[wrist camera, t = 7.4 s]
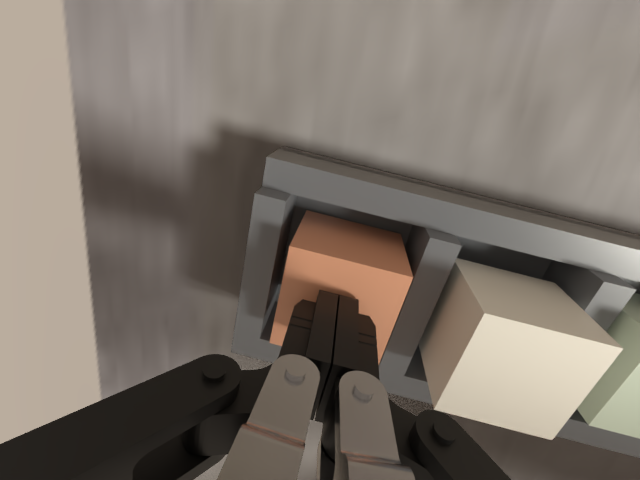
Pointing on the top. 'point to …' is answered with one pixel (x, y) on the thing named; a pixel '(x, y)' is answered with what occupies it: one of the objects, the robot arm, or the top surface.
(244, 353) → the tray
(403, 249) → the terracotta key
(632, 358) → the sage key
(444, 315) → the middle key
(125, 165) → the top surface
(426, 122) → the top surface
